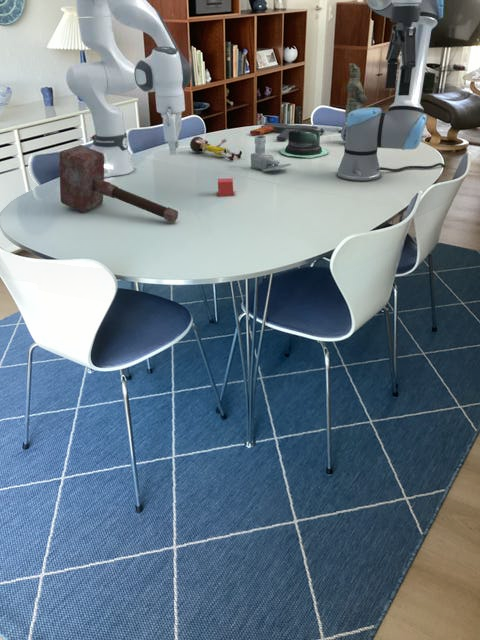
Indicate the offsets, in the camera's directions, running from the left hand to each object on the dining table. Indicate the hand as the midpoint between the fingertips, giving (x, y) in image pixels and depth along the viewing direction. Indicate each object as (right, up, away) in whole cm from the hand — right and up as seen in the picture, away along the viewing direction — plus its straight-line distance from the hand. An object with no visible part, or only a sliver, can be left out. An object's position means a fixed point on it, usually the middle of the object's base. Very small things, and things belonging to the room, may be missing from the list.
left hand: (174, 150), depth 178 cm
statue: (+76, +37, +91) cm, 125 cm away
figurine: (+10, +15, +55) cm, 58 cm away
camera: (+32, +3, +35) cm, 48 cm away
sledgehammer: (-16, -21, -5) cm, 27 cm away
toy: (+73, +24, +69) cm, 103 cm away
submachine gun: (+43, +33, +86) cm, 101 cm away
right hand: (+65, +10, -22) cm, 70 cm away
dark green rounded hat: (+48, +17, +57) cm, 77 cm away
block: (+16, -12, +10) cm, 22 cm away
